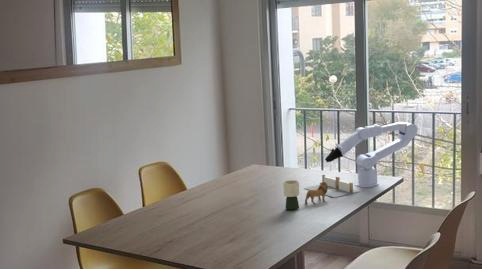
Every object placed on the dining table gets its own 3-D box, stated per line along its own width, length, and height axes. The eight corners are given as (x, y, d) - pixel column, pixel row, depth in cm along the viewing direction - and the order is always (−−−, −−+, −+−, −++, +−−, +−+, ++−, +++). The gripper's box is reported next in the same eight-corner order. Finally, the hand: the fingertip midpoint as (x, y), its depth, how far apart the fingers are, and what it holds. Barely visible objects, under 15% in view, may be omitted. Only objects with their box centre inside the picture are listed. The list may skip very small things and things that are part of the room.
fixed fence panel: (335, 188, 310) (334, 177, 309) (338, 187, 311) (337, 176, 310) (350, 193, 300) (350, 181, 299) (354, 192, 301) (353, 180, 300)
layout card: (328, 183, 322) (328, 182, 322) (359, 192, 302) (359, 191, 302) (304, 188, 314) (304, 188, 314) (334, 198, 294) (334, 197, 294)
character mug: (304, 211, 276) (303, 183, 274) (290, 213, 274) (288, 185, 271) (294, 205, 286) (293, 178, 284) (280, 207, 284) (279, 180, 282)
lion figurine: (322, 198, 295) (322, 180, 294) (331, 200, 291) (330, 181, 290) (301, 204, 286) (300, 186, 285) (309, 206, 282) (309, 188, 281)
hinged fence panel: (337, 187, 311) (337, 177, 310) (335, 187, 310) (334, 178, 310) (324, 183, 320) (323, 174, 320) (321, 183, 320) (321, 174, 319)
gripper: (340, 139, 316) (320, 155, 315) (346, 137, 302) (324, 153, 301) (349, 149, 316) (328, 165, 315) (354, 148, 301) (333, 165, 300)
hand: (327, 160), depth 308 cm, fingers open, 7 cm apart
